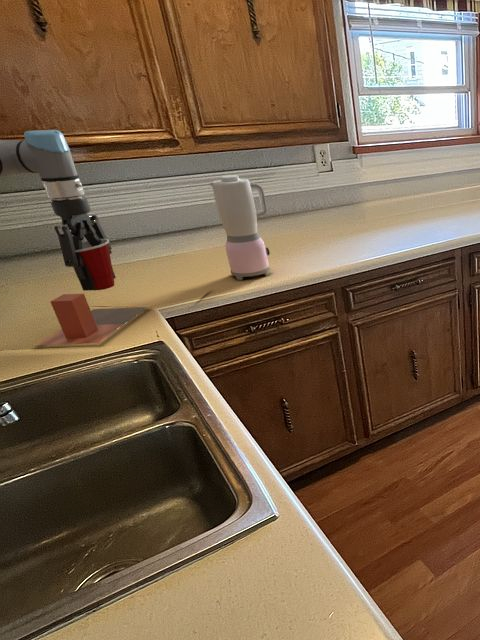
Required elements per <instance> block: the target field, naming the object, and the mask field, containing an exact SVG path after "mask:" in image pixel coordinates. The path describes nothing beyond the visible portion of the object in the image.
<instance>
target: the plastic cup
mask: <svg viewBox="0 0 480 640" xmlns="http://www.w3.org/2000/svg"><path fill="white" fill-rule="evenodd" d="M100 240H101V244H100V245H98V246H94V247H92V246H91V245H90V243H89V242H88V241H87V240H83V241H82V248H83V249H81V250H75V252H80V254H81V255H82V257H83V264H84V265H87V268H88V270H89V273H90V276H91V278H92V281H93V284H94V286H95V290H94V291H103V290H107V289H111V288H113V287H115V279H114V277H113V271H114V268H113V265H112V259H111V254H110V251H109V243H110V239H109V238H107V239H100ZM60 252H62V250H61V249H60ZM77 261H78V260H77ZM112 268H113V269H112Z"/></svg>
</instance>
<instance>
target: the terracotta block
mask: <svg viewBox="0 0 480 640" xmlns="http://www.w3.org/2000/svg"><path fill="white" fill-rule="evenodd" d="M49 302H50V304H51V307H52V310H53V311H54V313H55V317H56V319H57V320H58V324H59V325H60V328H61V329H62V330H63V333H64V335H65V337H66V339H68V338H87V337H88V336H90V335H91V334H93V333H94V332H95V331H97V330H98V328H97V326H96V323H95V321H94V318H93V316H92V313H91V308H90V306H89V303H88V301H87V298H86V295H85V293H63V294H61V295H60V296H58V297H55V298H54V299H52V300H50V301H49Z"/></svg>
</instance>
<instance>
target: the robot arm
mask: <svg viewBox="0 0 480 640" xmlns="http://www.w3.org/2000/svg"><path fill="white" fill-rule="evenodd" d="M23 136H24V139H0V177H5V176H6V177H7V176H13V175H18V174H38V175H39V177H40V180H41V183H42V185H43V188H44V190H45V194H46V196H47V198H48V199H51V200H50V205H51V208H52V211H53V213H54V215H55V216H57V217H60V218H61V224H60V225H55V226H54V230H55V233H56V235H57V237H58V242H59V245H60V251H61V250H62V251H61V254H62V258H63V262H64V265H65V267H67V268H73V270H74V273H75V274H76V278H77V279H78V280H79V284H80V286H81V289H82V292H84V291H86V292H87V291H96V290H95V286H94V284H93V281H92V278H91V276H90V273H89V270H88V268H87V265H84V264H83V257H82V255H81V254H80V252H75V250H81V249H83V248H82V242H83V241H84V239H86V241H88V242H89V243H90V245H91V246H92V247H94V246H98V245H100V244H101V240H100V239H108V237H107V235H106V233H105V231H104V229H103V228H102V226H101V223H100V220H99V217H98V215H97V214H89V213H90V212H91V210H92V209H91V205H90V203H89V201H88V197H85V196H84V195H85V194H86V192H85V190H84V188H83V183H82V182H81V180H80V177H79V174H78V171H77V169H76V166H75V162H74V159H73V156H72V152H71V149H70V147H69V145H68V143H67V140H66V139H65V136H64V134H63V133H62V132H61V131H60V130H57V129H37V130H27V131H25V132H24V133H23ZM112 249H113V248H112V246H111V244H110V242H109V251H110V255H111V254H112V253H113V252H112ZM77 260H78V261H77ZM112 269H113V277H114V280H115V279H117V277H116V274H115V271H114V268H113V267H112Z"/></svg>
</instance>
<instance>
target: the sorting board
mask: <svg viewBox="0 0 480 640" xmlns="http://www.w3.org/2000/svg"><path fill="white" fill-rule="evenodd" d="M146 309H148V306H147V307H146V306H143V307H142V306H141V307H117V308H116V307H115V308H114V307H113V308H93V309H92V310H91V309H90V310H91V313H92V316H93V318H94V321H95V323H96V326H97V328H98V330H97V331H95V332H94V333H93V334H91V335H90V336H88V337H87V338H68V339H66V337H65V335H64V333H63V330H62V328H61V329H60V330H57V332H54V333H53V334H52V335H50V336H48V337H47V338H45V339H43V340H42V341H40V342H39V343H37V344H36V345H35V346H36V347H37V346H40V347H41V346H54V347H52V349H53V348H54V349H55V348H59V346H61V345H62V346H65V345H78V346H77V348H79V347H81V348H82V347H83V346H82V345H87V344H88V345H89V344H100V343H101V342H102V341H104V340H105V339H107V338H108V337H109V336H110V335H112V334H113V333H115V332H116V331H117V330H119V329H120V328H122V327H123V326H124V325H126V324H127V323H128V322H130V321H131V320H132V319H134V318H135V317H136V316H138V315H140V313H142V312H143V311H145V310H146ZM79 345H80V346H79ZM57 346H58V347H57Z"/></svg>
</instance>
